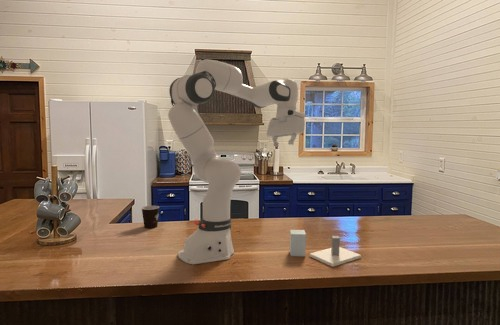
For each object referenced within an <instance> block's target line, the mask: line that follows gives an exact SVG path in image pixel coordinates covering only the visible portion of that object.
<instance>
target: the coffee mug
mask: <svg viewBox="0 0 500 325" xmlns="http://www.w3.org/2000/svg"><path fill="white" fill-rule="evenodd" d="M159 212H160V206H158V205H145V206H143V207H141V213H142V220H143V227H144V229H148V230H150V229H156V228H157V227H158V225H159V224H158V223H159V215H160V213H159Z"/></svg>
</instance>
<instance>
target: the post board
mask: <svg viewBox="0 0 500 325" xmlns="http://www.w3.org/2000/svg"><path fill="white" fill-rule="evenodd" d="M340 240H341V237H340V236H339V235H332V236H331V247H330V248H326V249H322V250H317V251H314V252H310V253H309V257H310V258H312V259H314V260H317V261H319V262H321V263H323V264H325V265H327V266H330V267H336V266H340V265H343V264H346V263H349V262H352V261H356V260H358V259H361V258H362V254H359V253H357V252H354V251H352V250H350V249H346V248H344V247H341V246H340V245H341V244H340V243H341V242H340Z"/></svg>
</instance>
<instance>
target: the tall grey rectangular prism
mask: <svg viewBox="0 0 500 325" xmlns="http://www.w3.org/2000/svg"><path fill="white" fill-rule="evenodd" d="M289 232H290V233H289V254H290V257H306V250H307V249H306V245H307V244H306V242H307V234H306V230H305V229H290V230H289Z"/></svg>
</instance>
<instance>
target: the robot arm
mask: <svg viewBox="0 0 500 325" xmlns="http://www.w3.org/2000/svg"><path fill="white" fill-rule="evenodd" d="M243 80H244V78H243V73H242V70H240V68H238V67H237V66H235V65H233V64H231V63H227V62H223V61H219V60H216V59H215V60H214V59H208V58H206V59H202V60H200V62H198V64H197V65H196V69H195V73H192V74H186V75H183V76H181V77H177V78H175V80H173V81H172V82H171V84H170V86H169V89H168V90H169V97H170V104H171V106H172V107H171V108H170V109H169V111H168V113H167V116H168V120H169V122H170V124H171V127H172V128H173V131H174V132H175V134H176V135H177V138H178V139H179V141H180V143H181V144H182V146H183V147H184V148H185V151H186V152H187V154H188V156H189V158H190V161H191V162H192V166H193V172H194V173H193V174H194V175H195V176H196V177H197V178H198V179H199V180H201V181H202V182H204V183H207V184H208V185H207V186H208V187H207V190H206V191H207V192H206V194H205V196H204V197H203V198H202V218H201V219H200V220H199V219H194V220H193V224H194V225H196V226H198V227H197V229H196V230H195V231H193V232H192V234H190V235H189V236H188V237H186V239H185V241H184V245H183V249H182V250H178V252H177V257H178V258H179V259H180V260H181V261H182V262H184V263H186V264H189V265H198V264H205V263H212V262H213V263H214V262H217V261H225V260H230V259H231V256H232V255H233V254H234V253H235V250H234V246H233V242H232V236H231V235H232V234H231V230H232V217H231V200H232V199H231V198H232V195H233V194H232V193H233V191H234V188H235V186H236V185H237V183H239V181H240V179H241V175H242V170H241V168H240V165H239V164H238V163H237V162H236V161H234V160H231V159H230V158H226V157H220V156H218V154H217V153H216V150H215V146H214V144H215V140H214V138H213V136H212V134H211V133H210V131H209V129H208V128H207V126H206V124H205V122H204V121H203V119H202V117H201V116H200V113H199V110H198V106H199V105H203V104H206V103H208V102H209V101H211V99H212V98H213V96H214V93H215V91H219V92H222V93H226V94H229V95H231V96H232V97H236V98H238V99H241V100H244V101H246V102H248V103H249V104H250V105H252V106H253V107H255V108H257V109H263V108H266V107H267V106H271V105H274V104H275V105H276V106H277V107H276V113H275V114H276V115H275V117H272V118H271V119H270V120H269V122H268V125H267V130H266V136H267V137H268V138H270V139H272V142H273V143H272V144H273V147H279V141H278V138H281V137H289V136H291V137H290V139H289V140H288V145H289V146H294V143H295V140H296V138H297V135H302V134H303V133H304V132H305V113H303V112H301V111H298V110H297V103H298V96H299V87H298V84H297V82H296V81H295V80H293V79H291V78H283V79H281V80H277V79H276V80H271V81H269V82H267V83H264V84H261V85H257V86H254V87H252V86H249V85H247V84H244V82H243Z"/></svg>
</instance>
